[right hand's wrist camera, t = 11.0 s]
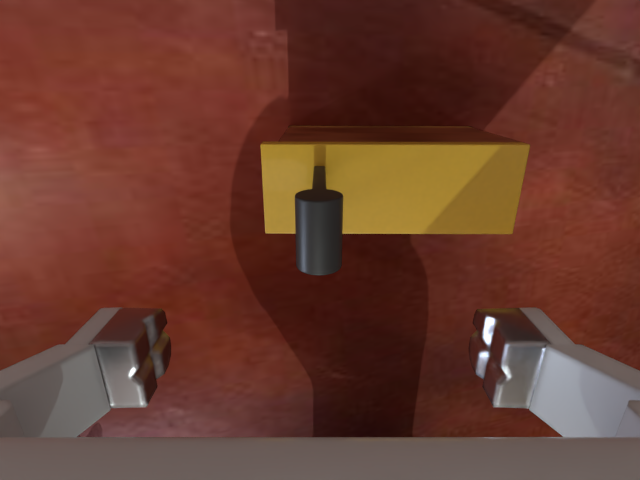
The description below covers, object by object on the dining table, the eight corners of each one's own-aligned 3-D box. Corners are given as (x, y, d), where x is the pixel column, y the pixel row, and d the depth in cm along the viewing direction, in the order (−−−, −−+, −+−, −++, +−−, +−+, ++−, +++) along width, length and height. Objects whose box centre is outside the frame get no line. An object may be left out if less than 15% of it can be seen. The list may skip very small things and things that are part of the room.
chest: (291, 191, 35) (280, 228, 26) (289, 125, 32) (277, 141, 24) (459, 192, 34) (505, 228, 26) (468, 126, 32) (522, 141, 24)
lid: (267, 228, 26) (241, 298, 17) (262, 141, 24) (230, 173, 15) (505, 229, 26) (594, 299, 17) (522, 142, 24) (633, 174, 15)
